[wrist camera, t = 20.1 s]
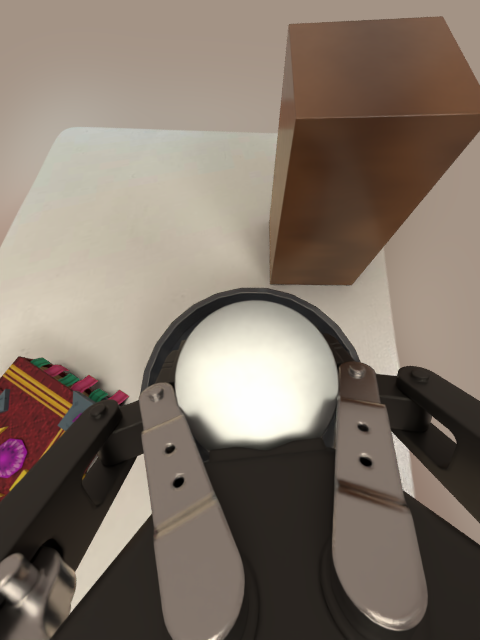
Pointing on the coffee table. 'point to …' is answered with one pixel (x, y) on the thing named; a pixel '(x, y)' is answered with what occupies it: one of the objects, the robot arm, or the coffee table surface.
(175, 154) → the coffee table surface
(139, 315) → the coffee table surface
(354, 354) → the silver metal bowl
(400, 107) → the crate
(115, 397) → the decorative book
